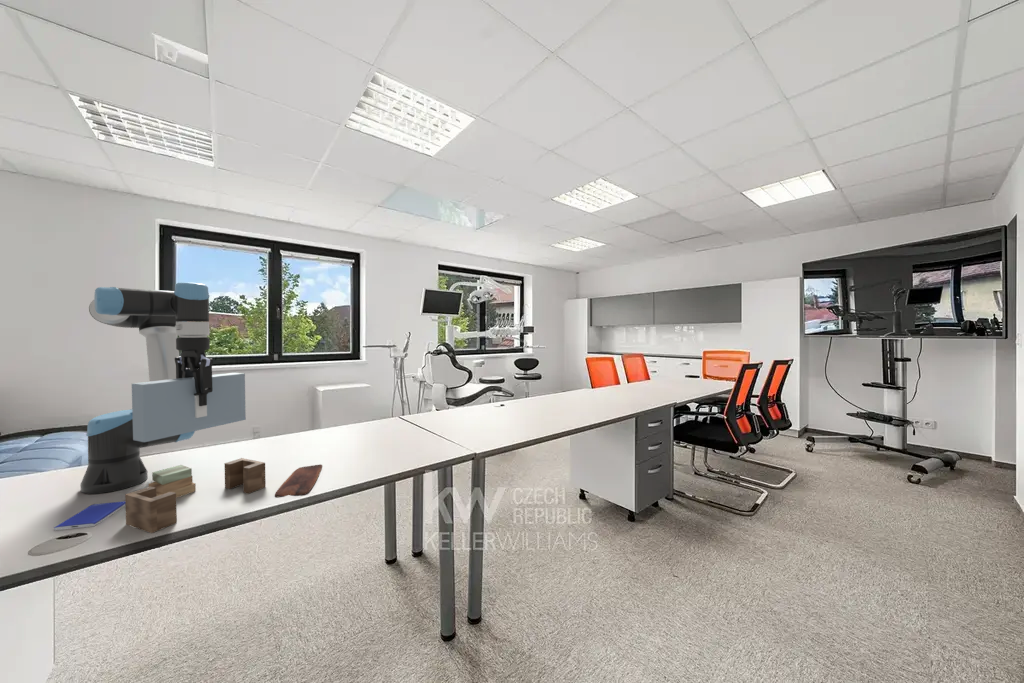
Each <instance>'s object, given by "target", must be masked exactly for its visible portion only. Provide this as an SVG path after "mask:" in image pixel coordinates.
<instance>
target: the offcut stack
mask: <svg viewBox="0 0 1024 683" xmlns="http://www.w3.org/2000/svg"><path fill="white" fill-rule="evenodd" d="M151 474H152V477H151V478H152V481H153V482H150V483H148V487H150V486H151V487H155V488H156V496H159V495H162V494H165V493H168V492H174V493H176V499H177V498H181V497H183V496H186V495H189V494H191V493H194V492H196V490H197V489H196V483H195V482H194V480H193V472H192V467H188V466H185V465H183V464H180V465H175V466H173V467H172V466H171V467H168V468H164V469H163V468H162V469H161V470H160V469H159V470H156V471H153V472H152V473H151Z"/></svg>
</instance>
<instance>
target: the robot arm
mask: <svg viewBox="0 0 1024 683" xmlns="http://www.w3.org/2000/svg"><path fill="white" fill-rule="evenodd" d="M93 298H94V299H93V300H92V301H90V304H89V306H88V312H89V315H90V316H91V317H92V318H93V319H94V320H96V321H97V322H98V323H101V324H104V325H107V326H112V327H116V328H117V327H118V328H126V329H127V328H130V329H135V328H136V329H138V330H139V334H140V335H141V336H143V337H145V345H146V355H147V366H148V376H149V377H148V379H149V382H151V381H160V380H170V379H179V378H190V377H194V379H195V387H196V393H195V394H194V395H195V418H199V417H204V416H207V394H208V393H210V392H212V391H213V388H212V375H213V363H214V359H213V358H208V357H207V354H206V352H205V351H207V350H209V349H210V348H211V347H210V346H211V344H210V342H211V341H210V340H211V338H210V337H208V336H210V332H211V331H210V330H211V329H210V294H209V287H208V286H207V284H204V283H198V282H197V283H196V282H177V283H175V284H174V290H160V289H158V290H157V289H140V288H126V287H124V288H123V287H116V286H110V287H109V286H108V287H107V286H99V287H96V288H95V289H94V296H93ZM180 351H181V355H180ZM86 428H87V429H86V430H87V431H86V434H85V435H86V437H87V461H88V464H87V467H86V470H85V472H84V475H83V477H82V480H81V482H80V492H81V493H82V494H89V495H91V494H93V495H94V494H95V495H96V494H104V493H110V492H114V491H120V490H123V489H128V488H132V487H134V486H137V485H139V484H141V483H144V482H145V481H146V480H147V479H148V470H147V468H146V466H145V464H144V461H143V460H142V458H141V454H140V452H141V451H140V449H142V448H148V447H155V446H158V445H166V444H171V443H178V442H181V441H185V440H190V439H191V438H193V436H194V434H195V432H196V431H193V432H188V433H184V434H179V435H175V436H170V437H166V438H161V439H157V440H152V441H148V442H140V441H136V440H133V416H132V408H131V409H125V410H123V409H121V410H118V411H117V410H116V411H111V412H107V413H104V414H100V415H97V416H95V417H93V418H91V419H90V420H89V421H88V423H87V427H86Z"/></svg>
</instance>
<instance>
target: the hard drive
mask: <svg viewBox="0 0 1024 683" xmlns="http://www.w3.org/2000/svg"><path fill="white" fill-rule="evenodd" d="M124 507H126V506H125V500H124V501H115V502H114V501H113V502H105V503H102V502H101V503H94V504H91V505H88V506H87V507H85V508H84V509H82V510H81V511H79V512H78V513H76V514H74V515H73V516H71V517H69V518H67V519H66V520H64V521H63V522H61V523H59V524H58V525H56V526H53V530H54V531H61V530H62V531H63V530H70V529H78V528H89V527H95V526H97V525H98V524H100V523H102V522H103V521H104V520H106V519H108V518H109V517H110V516H112V515H113V514H115V513H117V512H118V511H120V510H121V509H123V508H124Z"/></svg>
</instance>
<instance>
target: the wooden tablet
mask: <svg viewBox="0 0 1024 683" xmlns="http://www.w3.org/2000/svg"><path fill="white" fill-rule="evenodd" d="M322 468H323V464H321V463H320V464H315V465H306V466H302V467H298V468H296V469H295V470H294V471H293V472H292V473H291V474H290V475H289V476H288V477H287V478H286V479H285V481H284V482H283V483H282V484H281V485H280V486H279V488H278V489H277V490H276V491H275V493H274V497H275V498H282V497H283V498H284V497H287V496H295V497H296V496H305V495H307V494H308V493H309V492H310V491H311V489H312V488H313V487H314V485H315V483H316V482H317V480H318V478H319V476H320V473H321V471H322Z"/></svg>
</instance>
